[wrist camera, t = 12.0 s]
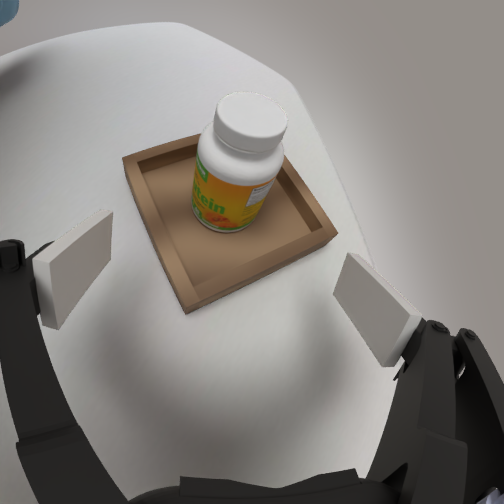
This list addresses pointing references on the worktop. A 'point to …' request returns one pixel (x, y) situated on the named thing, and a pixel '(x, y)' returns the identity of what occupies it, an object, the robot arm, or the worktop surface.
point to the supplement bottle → (237, 160)
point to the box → (213, 242)
